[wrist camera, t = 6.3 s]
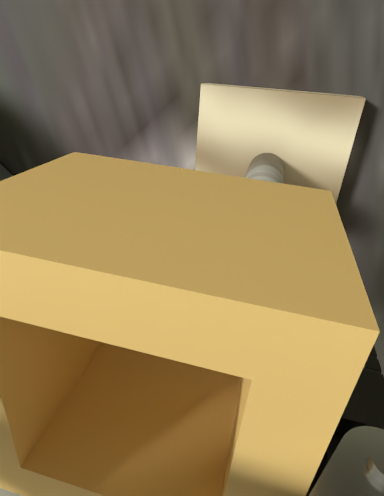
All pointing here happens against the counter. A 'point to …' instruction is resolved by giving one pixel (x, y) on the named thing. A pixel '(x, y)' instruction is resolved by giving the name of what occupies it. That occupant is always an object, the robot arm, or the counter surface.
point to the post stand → (277, 134)
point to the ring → (172, 331)
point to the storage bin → (4, 173)
